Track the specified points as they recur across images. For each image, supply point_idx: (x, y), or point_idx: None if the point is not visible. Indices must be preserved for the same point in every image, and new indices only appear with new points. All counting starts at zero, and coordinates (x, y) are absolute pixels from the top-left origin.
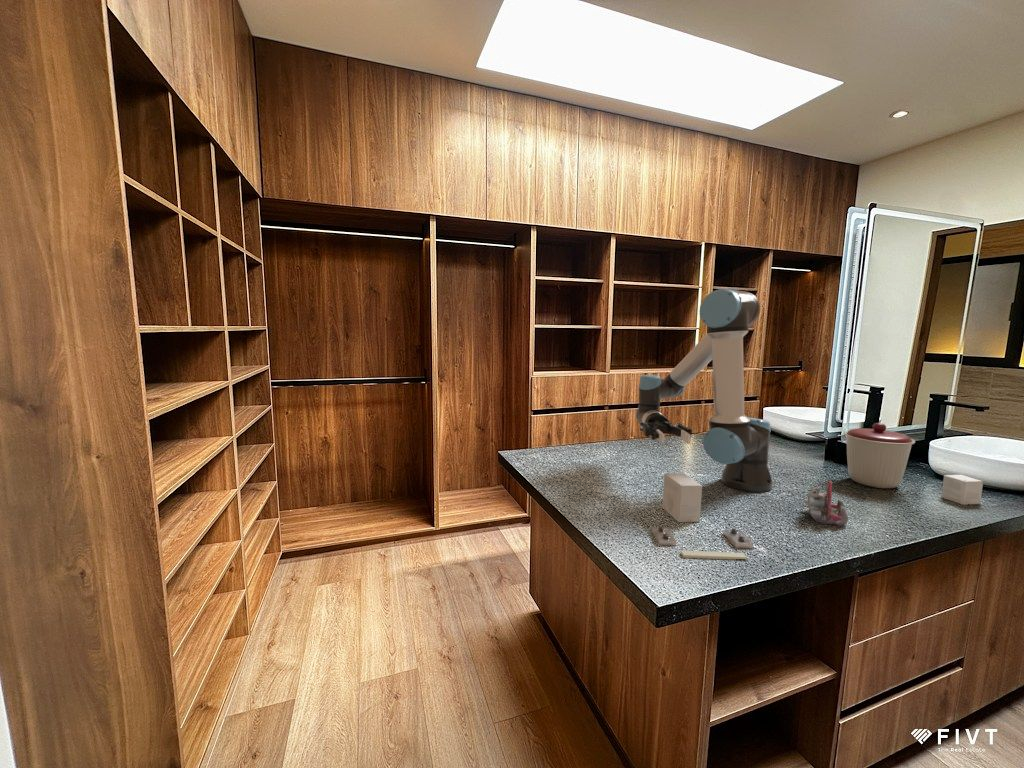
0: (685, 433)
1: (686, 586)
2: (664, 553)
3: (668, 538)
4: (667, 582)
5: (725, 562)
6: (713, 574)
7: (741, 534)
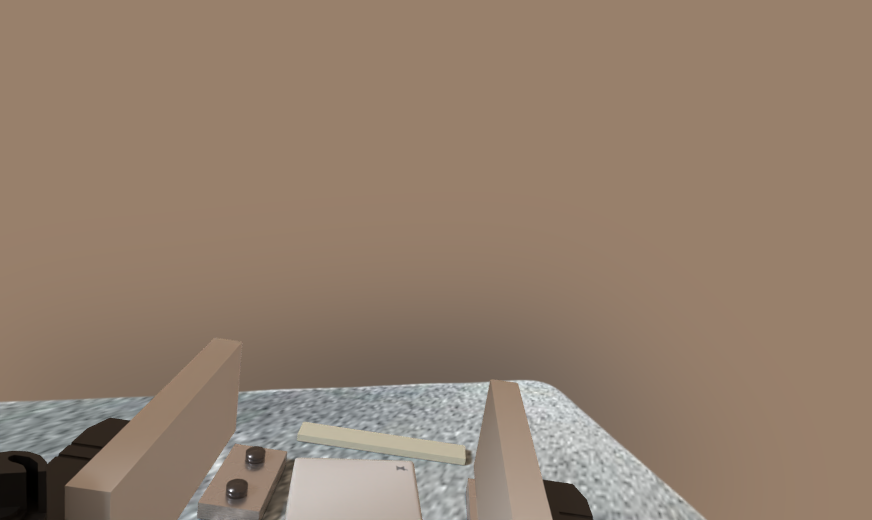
0: (205, 389)
1: None
2: None
3: None
4: None
5: (365, 429)
6: (419, 408)
7: (223, 480)
